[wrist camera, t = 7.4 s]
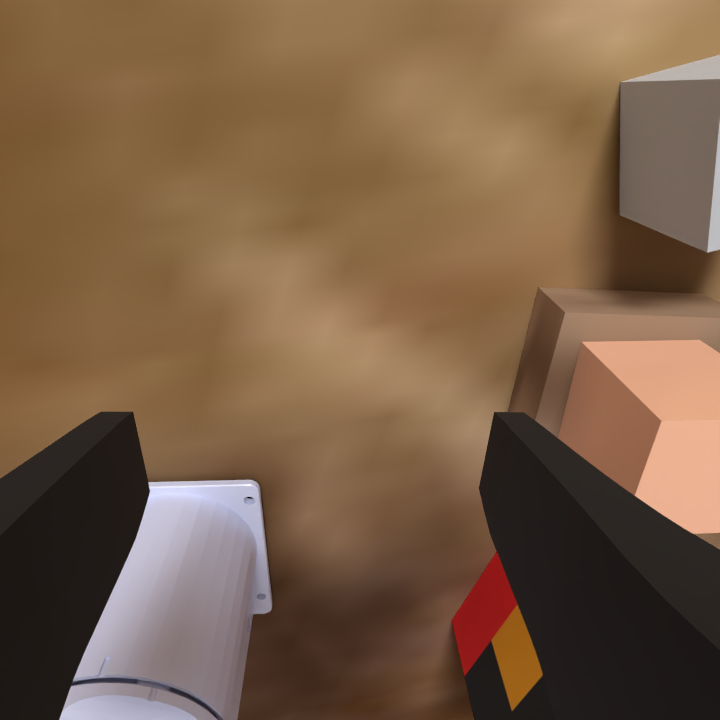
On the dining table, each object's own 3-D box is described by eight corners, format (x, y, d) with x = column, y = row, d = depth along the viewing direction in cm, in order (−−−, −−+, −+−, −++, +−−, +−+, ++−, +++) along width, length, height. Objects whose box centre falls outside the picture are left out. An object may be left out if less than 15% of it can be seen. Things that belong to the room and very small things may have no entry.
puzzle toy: (529, 500, 26) (632, 714, 17) (687, 536, 28) (854, 745, 19) (451, 619, 30) (501, 838, 21) (593, 643, 32) (692, 853, 23)
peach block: (663, 437, 21) (754, 531, 16) (557, 440, 20) (620, 536, 16) (699, 339, 18) (815, 417, 14) (581, 341, 18) (661, 421, 14)
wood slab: (641, 426, 24) (679, 467, 21) (501, 423, 24) (522, 465, 21) (696, 290, 21) (750, 319, 18) (534, 283, 20) (565, 312, 18)
